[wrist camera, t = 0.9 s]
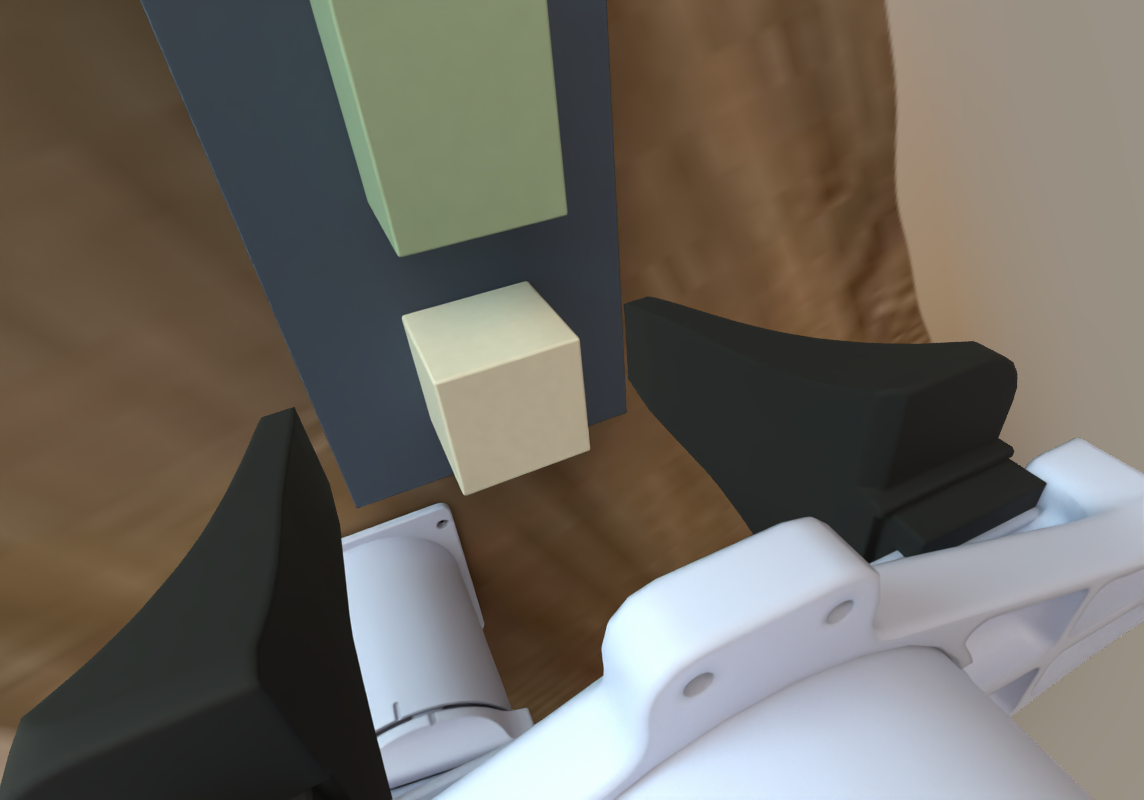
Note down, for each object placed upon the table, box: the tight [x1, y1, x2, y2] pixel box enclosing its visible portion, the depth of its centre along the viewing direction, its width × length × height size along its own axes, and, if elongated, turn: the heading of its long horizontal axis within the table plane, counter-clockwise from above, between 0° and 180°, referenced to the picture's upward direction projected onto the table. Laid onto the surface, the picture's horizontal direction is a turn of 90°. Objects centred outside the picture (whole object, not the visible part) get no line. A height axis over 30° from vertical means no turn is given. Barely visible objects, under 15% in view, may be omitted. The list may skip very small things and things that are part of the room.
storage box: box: [140, 0, 627, 508], centre depth 20 cm, size 16×10×4 cm, turn 6°
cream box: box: [402, 281, 590, 495], centre depth 19 cm, size 4×4×4 cm
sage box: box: [310, 0, 567, 257], centre depth 14 cm, size 5×4×4 cm
